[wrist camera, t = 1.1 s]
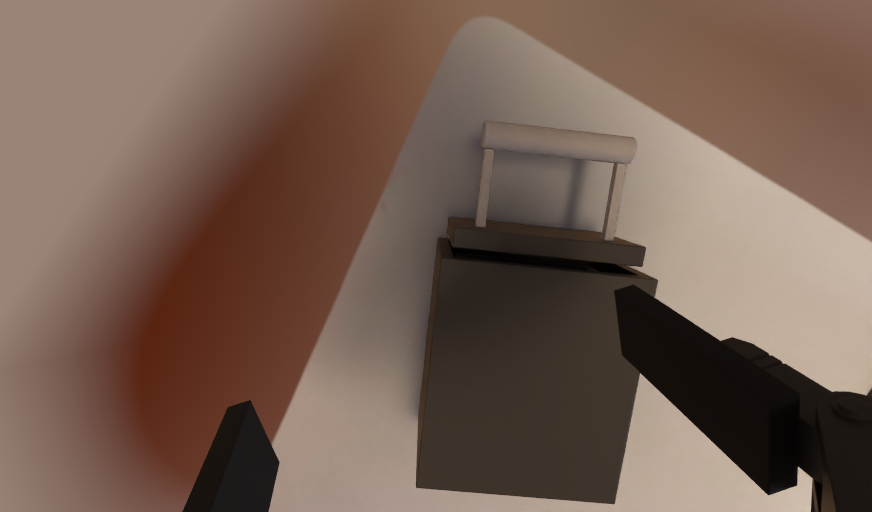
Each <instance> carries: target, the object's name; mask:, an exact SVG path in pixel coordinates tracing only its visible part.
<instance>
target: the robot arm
mask: <svg viewBox="0 0 872 512" xmlns="http://www.w3.org/2000/svg"><path fill="white" fill-rule="evenodd" d="M614 295H615V303H616V311H617V319H618V328H619V336H620V344H621V352H622V356H623V357H624V358H625V359H626V360H627V361H628V362H630V363H631V364H632V365H633V366H634V367H635V368H636V369H637V370H638V371H639V372H640V373H641V374H642V375H643V376H644V377H645V378H646V379H647V380H648V381H649V382H650V383H651V384H653V385H654V386H655V387H656V388H657V389H658V390H659V391H660V392H661V393H662V394H663V395H664V396H665V397H666V398H667V399H668V400H669V401H670V402H671V403H672V404H673V405H675V406H676V407H677V408H678V409H679V410H680V411H681V412H682V413H683V414H684V415H685V416H686V417H687V418H688V419H689V420H690V421H691V422H692V423H693V424H694V425H695V426H696V427H698V428H699V429H700V430H701V431H702V432H703V433H704V434H705V435H706V436H707V437H708V438H709V439H710V440H711V441H712V442H713V443H714V444H715V445H716V446H717V447H718V448H719V449H721V450H722V451H723V452H724V453H725V454H726V455H727V456H728V457H729V458H730V459H731V460H732V461H733V462H734V463H735V464H736V465H737V466H738V467H739V468H740V469H741V470H742V471H744V472H745V473H746V474H747V475H748V476H749V477H750V478H751V479H752V480H753V481H754V482H755V483H756V484H757V485H758V486H759V487H760V488H761V489H762V490H763V491H764V492H765V493H767V494H768V495H771V494H774V493H776V492H779V491H782V490H785V489H788V488H791V487H794V486H797V473H798V467H800V468H801V469H802V470H803V471H804V472H806V473H807V474H808V475H809V476H811V477H812V478H813V482H812V502H811V512H872V398H870V397H868V396H865V395H862V394H857V393H852V392H837V391H835V392H831V391H829V390H828V389H826V388H824V387H823V386H821V385H819V384H818V383H816V382H814V381H813V380H811V379H810V378H808V377H806V376H805V375H803V374H801V373H800V372H798V371H796V370H795V369H793V368H791V367H790V366H788V365H787V364H783V363H782V361H780V360H778V359H777V358H775V357H773V356H770V355H769V353H767V352H765V351H764V350H762V349H760V348H759V347H757V346H755V345H754V344H752V343H749V342H745V341H742V340H739V339H736V338H733V337H732V338H729V339H726V340H722V341H720V340H718V339H717V338H715V337H713V336H712V335H710V334H709V333H707V332H706V331H704V330H703V329H701V328H700V327H698V326H697V325H695V324H694V323H692V322H691V321H689V320H688V319H686V318H685V317H683V316H682V315H680V314H678V313H677V312H675V311H674V310H672V309H671V308H669V307H668V306H666V305H665V304H663V303H662V302H660V301H659V300H657V299H656V298H654V297H653V296H651V295H650V294H648V293H646V292H645V291H643V290H642V289H640V288H639V287H637V286H636V285H634V284H633V285H630V286H627V287H623V288H620V289H617V290H614ZM278 467H279V460H278V458H277V456H276V454H275V452H274V450H273V448H272V445H271V443H270V441H269V439H268V437H267V435H266V433H265V430H264V428H263V426H262V424H261V422H260V420H259V418H258V416H257V414H256V411H255V409H254V407H253V405H252V403H251V401H247V402H243V403H240V404H237V405H234V406H230V407H228V408H227V410H226V413H225V415H224V417H223V420H222V422H221V424H220V427H219V429H218V431H217V434H216V436H215V438H214V440H213V443H212V445H211V448H210V450H209V452H208V454H207V457H206V459H205V461H204V464H203V466H202V468H201V470H200V473H199V475H198V477H197V480H196V482H195V484H194V487H193V489H192V491H191V493H190V496H189V498H188V501H187V503H186V505H185V507H184V510H183V512H268V511H269V507H270V502H271V498H272V493H273V489H274V484H275V480H276V476H277V471H278Z"/></svg>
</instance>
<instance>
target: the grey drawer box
mask: <svg viewBox="0 0 872 512" xmlns="http://www.w3.org/2000/svg"><path fill="white" fill-rule="evenodd" d="M455 253H466V254H476V255H486V256H496V257H505V258H515V259H525V260H535V261H545V262H554V263H564V264H574V265H584V266H590V267H592V268H594V269H596V270H597V271H588V270H578V269H569V268H559V267H549V266H539V265H529V264H519V263H510V262H500V261H490V260H480V259H470V258H460V257H454V255H455ZM598 271H599V272H598ZM657 283H658V280H657V279H655V278H653V277H650V276H648V275H646V274H644V273H642V272H640V271H637V270H635V269H633V268H631V267H629V266H626V265H619V264H609V263H599V262H589V261H580V260H570V259H560V258H550V257H540V256H531V255H521V254H511V253H501V252H492V251H482V250H472V249H462V248H453V247H452V245H451V242H450V239H449V238H439V237H438V239H437V249H436V258H435V267H434V276H433V286H432V295H431V304H430V313H429V323H428V332H427V341H426V351H425V360H424V369H423V378H422V388H421V397H420V406H419V415H418V441H417V469H416V488H425V489H437V490H449V491H461V492H474V493H486V494H498V495H510V496H522V497H534V498H546V499H558V500H570V501H582V502H594V503H607V504H615V499H616V494H617V489H618V484H619V479H620V473H621V468H622V463H623V458H624V453H625V448H626V442H627V437H628V432H629V427H630V422H631V417H632V412H633V406H634V401H635V396H636V391H637V386H638V381H639V376H640V372H639V371H638V370H637V369H636V368H635V367H634V366H633V365H632V364H631V363H630V362H628V361H627V360H626V359H625V358H624V357H623V356H622V352H621V344H620V336H619V328H618V319H617V311H616V303H615V295H614V290H617V289H620V288H623V287H627V286H630V285H633V284H634V285H636V286H637V287H639V288H640V289H642V290H643V291H645V292H646V293H648V294H650V295H651V296H653V297H654V298H655V293H656V288H657Z"/></svg>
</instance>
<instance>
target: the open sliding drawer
mask: <svg viewBox="0 0 872 512" xmlns="http://www.w3.org/2000/svg"><path fill="white" fill-rule="evenodd" d="M481 148H483V149H484V154H483V162H482V171H481V179H480V187H479V195H478V204H477V212H476V219H467V218H457V217H449V219H448V228H447V233H448V236H449V239H450V242H451V245H452V247H453V248H462V249H472V250H482V251H492V252H501V253H511V254H521V255H531V256H540V257H550V258H560V259H570V260H580V261H589V262H599V263H609V264H619V265H628V266H638V267H642V266H643V261H644V256H645V251H646V247H644V246H641V245H638V244H635V243H632V242H629V241H626V240H623V239H620V238H617V237H615V231H616V225H617V219H618V214H619V208H620V202H621V197H622V191H623V185H624V179H625V174H626V168H627V164H630V163H631V162H632V161H633V159H634V157H635V154H636V149H637V142H636V139H635V138H633V137H625V136H616V135H607V134H599V133H590V132H581V131H572V130H563V129H554V128H545V127H537V126H528V125H519V124H510V123H501V122H492V121H485V122H484V125H483V129H482V136H481ZM495 150H501V151H510V152H519V153H528V154H537V155H546V156H556V157H565V158H574V159H583V160H592V161H601V162H610V163H614V166H613V172H612V178H611V184H610V190H609V196H608V202H607V208H606V214H605V219H604V225H603V231H602V233H600V232H591V231H581V230H571V229H562V228H552V227H543V226H533V225H524V224H514V223H505V222H495V221H486V218H487V210H488V202H489V195H490V187H491V179H492V171H493V163H494V155H495ZM454 257H460V258H470V259H480V260H490V261H500V262H510V263H519V264H529V265H539V266H549V267H559V268H569V269H578V270H588V271H597V270H596V269H594V268H592V267H590V266H584V265H574V264H564V263H554V262H545V261H535V260H525V259H515V258H505V257H496V256H486V255H476V254H466V253H455V255H454ZM598 272H599V271H598Z"/></svg>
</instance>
